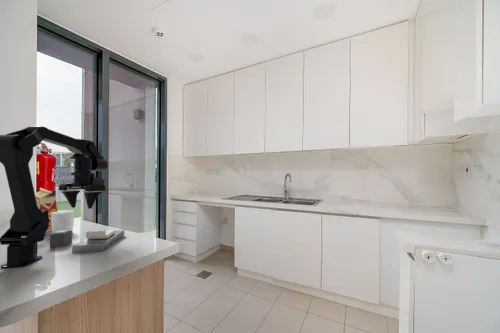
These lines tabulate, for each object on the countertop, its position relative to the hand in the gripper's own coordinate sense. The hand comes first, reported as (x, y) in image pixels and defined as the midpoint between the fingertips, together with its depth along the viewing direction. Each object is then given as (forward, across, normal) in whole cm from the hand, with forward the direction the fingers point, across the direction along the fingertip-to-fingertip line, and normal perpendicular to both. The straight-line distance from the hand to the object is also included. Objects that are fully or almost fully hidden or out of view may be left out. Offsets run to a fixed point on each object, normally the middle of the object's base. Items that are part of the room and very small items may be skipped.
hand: (81, 208), depth 85 cm
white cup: (+13, +15, -3) cm, 20 cm away
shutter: (+10, -12, +1) cm, 16 cm away
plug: (+13, +1, +6) cm, 15 cm away
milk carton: (+13, +31, -5) cm, 34 cm away
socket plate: (+13, -12, 0) cm, 18 cm away
